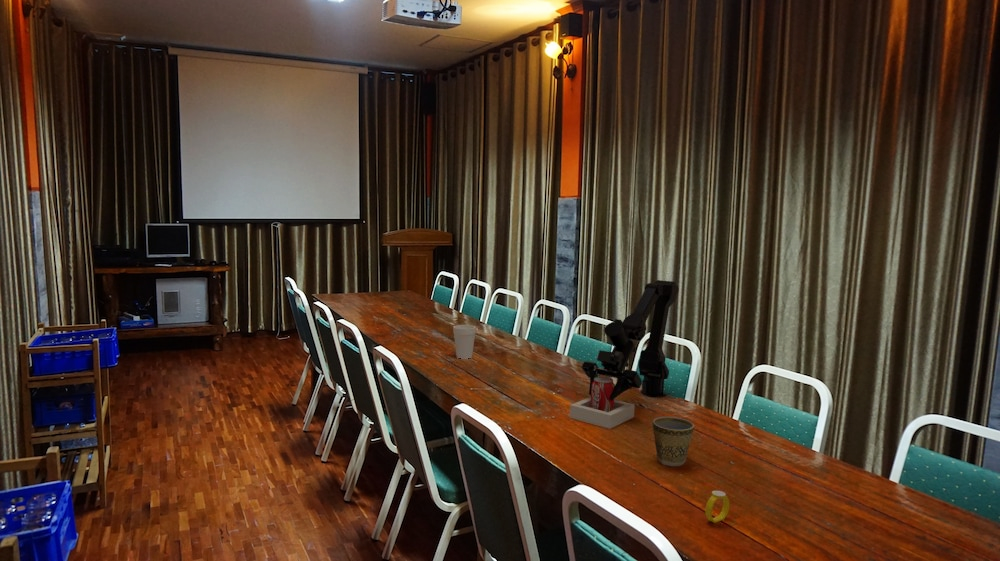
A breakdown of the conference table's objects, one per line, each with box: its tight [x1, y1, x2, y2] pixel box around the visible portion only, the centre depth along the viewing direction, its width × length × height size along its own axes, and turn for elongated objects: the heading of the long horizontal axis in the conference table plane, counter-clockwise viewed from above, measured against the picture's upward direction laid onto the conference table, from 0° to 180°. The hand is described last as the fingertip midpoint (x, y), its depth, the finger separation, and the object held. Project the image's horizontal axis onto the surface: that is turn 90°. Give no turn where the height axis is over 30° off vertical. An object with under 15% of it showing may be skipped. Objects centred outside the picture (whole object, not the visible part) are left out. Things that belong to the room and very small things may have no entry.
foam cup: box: [452, 324, 477, 360], centre depth 266 cm, size 10×9×13 cm
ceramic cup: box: [652, 416, 695, 467], centre depth 163 cm, size 13×10×10 cm
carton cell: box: [569, 396, 635, 430], centre depth 195 cm, size 14×14×4 cm
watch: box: [704, 490, 731, 524], centre depth 132 cm, size 6×3×6 cm, turn 123°
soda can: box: [590, 376, 616, 412], centre depth 194 cm, size 7×7×12 cm
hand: (600, 397), depth 193 cm, fingers closed on soda can, 7 cm apart
